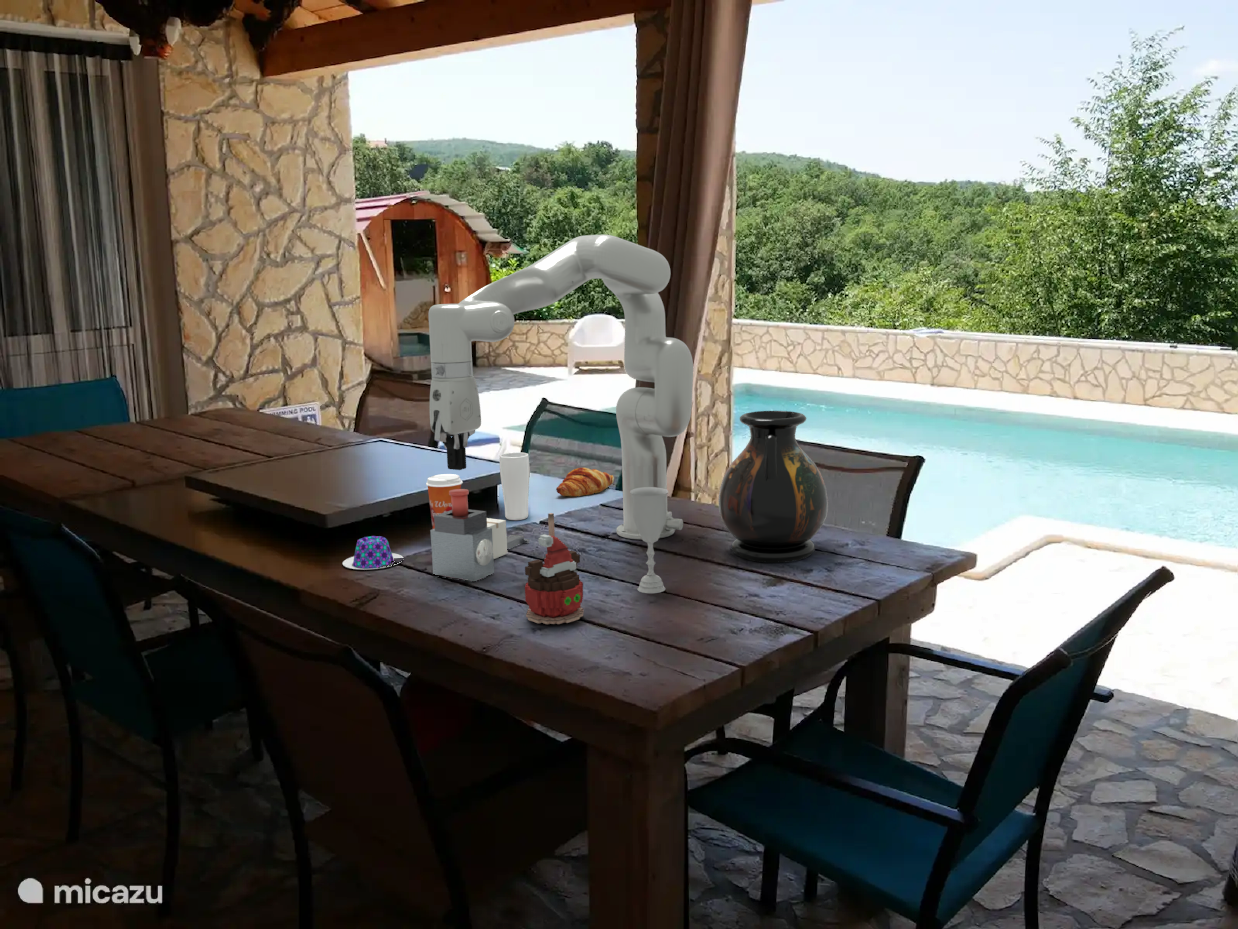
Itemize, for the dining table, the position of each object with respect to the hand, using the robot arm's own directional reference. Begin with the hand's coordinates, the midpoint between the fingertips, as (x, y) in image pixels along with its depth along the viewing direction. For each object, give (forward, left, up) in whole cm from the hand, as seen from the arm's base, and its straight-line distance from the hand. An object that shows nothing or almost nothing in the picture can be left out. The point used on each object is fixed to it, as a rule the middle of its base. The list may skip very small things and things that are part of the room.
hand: (457, 468), depth 202 cm
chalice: (-37, -7, -21) cm, 43 cm away
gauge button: (0, 0, -9) cm, 9 cm away
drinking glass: (+17, -42, -21) cm, 50 cm away
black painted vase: (-48, -38, -21) cm, 65 cm away
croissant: (+17, -73, -21) cm, 78 cm away
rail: (+4, -17, -21) cm, 27 cm away
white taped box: (+4, -13, -21) cm, 25 cm away
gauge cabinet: (0, 0, -21) cm, 21 cm away
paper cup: (+19, -19, -21) cm, 34 cm away
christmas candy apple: (-30, +14, -21) cm, 39 cm away
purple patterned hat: (+22, +1, -21) cm, 31 cm away
